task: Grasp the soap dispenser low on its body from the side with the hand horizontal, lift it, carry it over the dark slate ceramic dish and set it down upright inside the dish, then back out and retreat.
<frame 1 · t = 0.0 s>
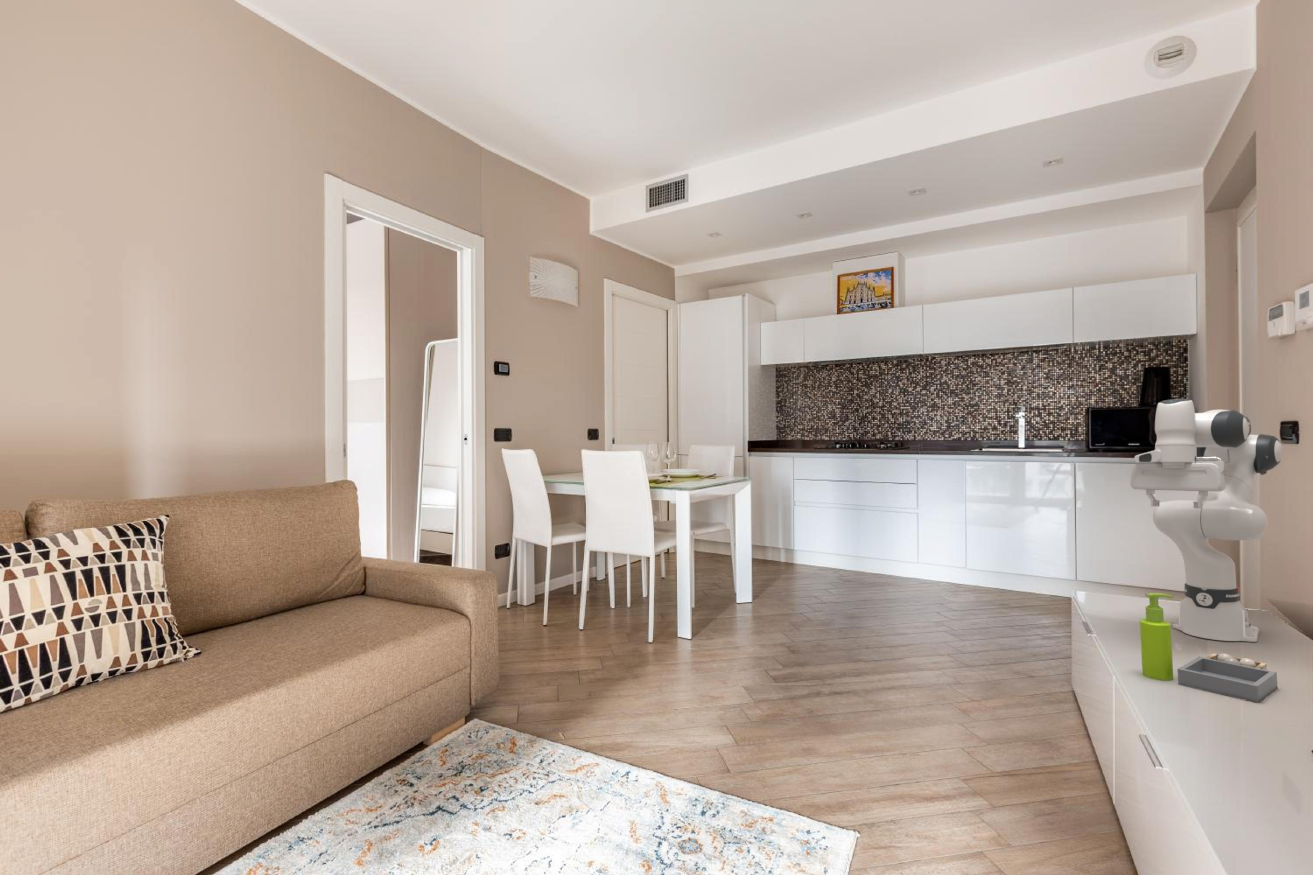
hand: (1176, 507, 172), 39 cm above the sideboard, tool pointing down, fingers open, 8 cm apart
pebble a: (1225, 659, 157), point 2 cm above the sideboard, touching parts tray
dish: (1227, 685, 146), on the sideboard
pebble c: (1247, 664, 154), point 2 cm above the sideboard, touching parts tray
pebble b: (1232, 663, 154), point 2 cm above the sideboard, touching parts tray
soap dispenser: (1160, 676, 154), on the sideboard
parts tray: (1234, 671, 155), on the sideboard
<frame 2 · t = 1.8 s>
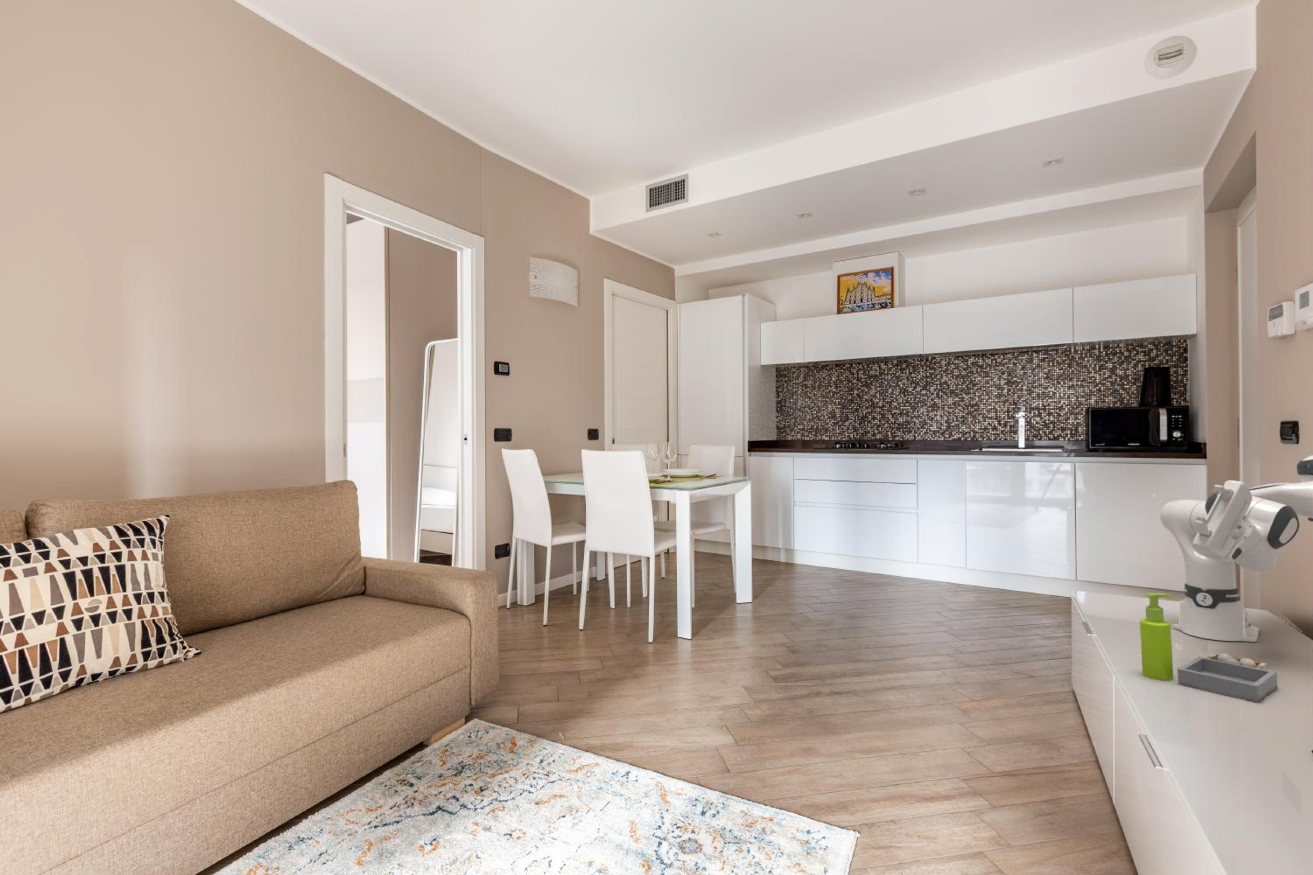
hand: (1208, 503, 155), 41 cm above the sideboard, tool pointing upward, fingers open, 8 cm apart
nothing on the sideboard moved.
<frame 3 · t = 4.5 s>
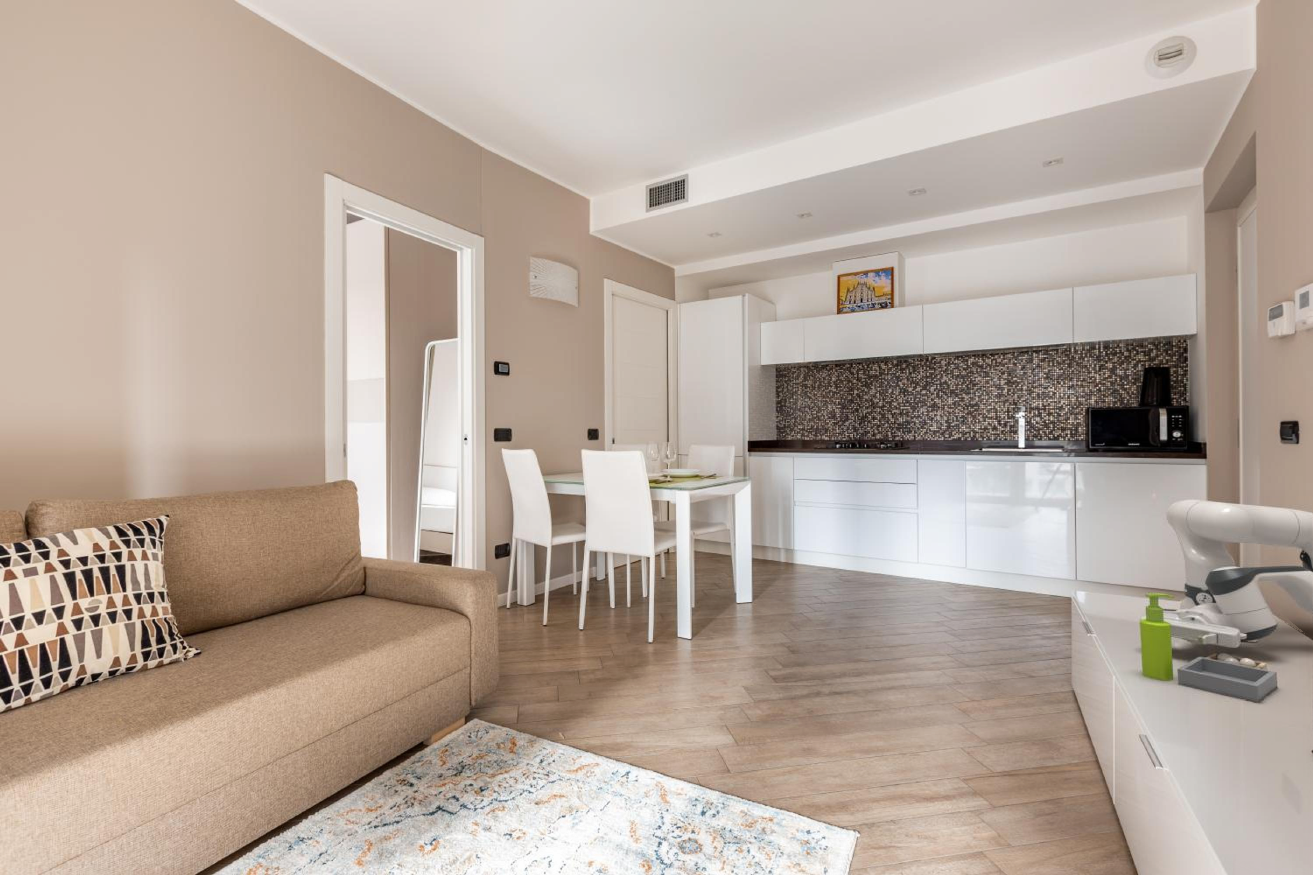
hand: (1177, 636, 160), 7 cm above the sideboard, tool horizontal, fingers open, 8 cm apart
nothing on the sideboard moved.
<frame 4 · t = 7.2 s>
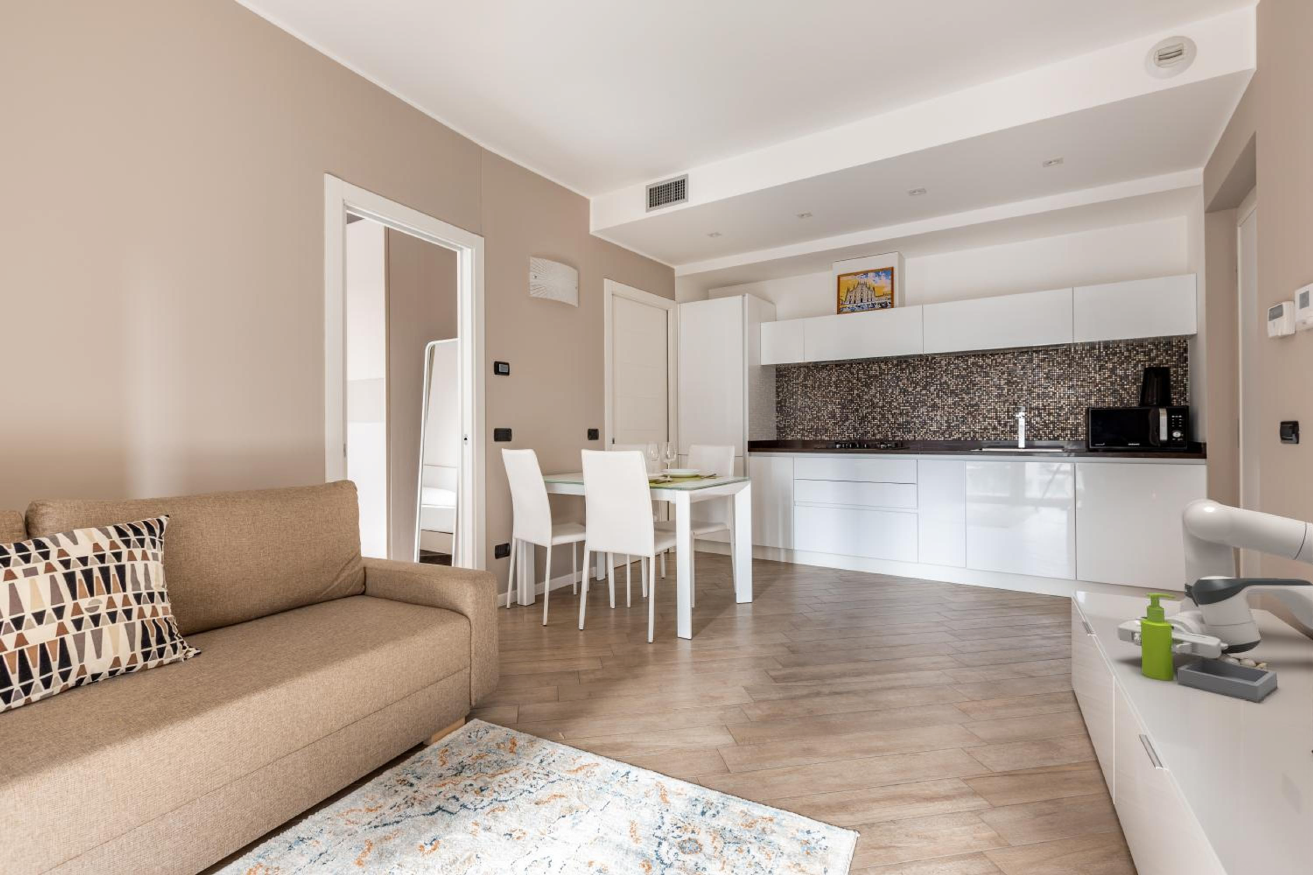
hand: (1155, 645, 153), 8 cm above the sideboard, tool horizontal, fingers closed on soap dispenser, 6 cm apart
soap dispenser: (1160, 676, 154), on the sideboard, touching gripper
everything else where it was.
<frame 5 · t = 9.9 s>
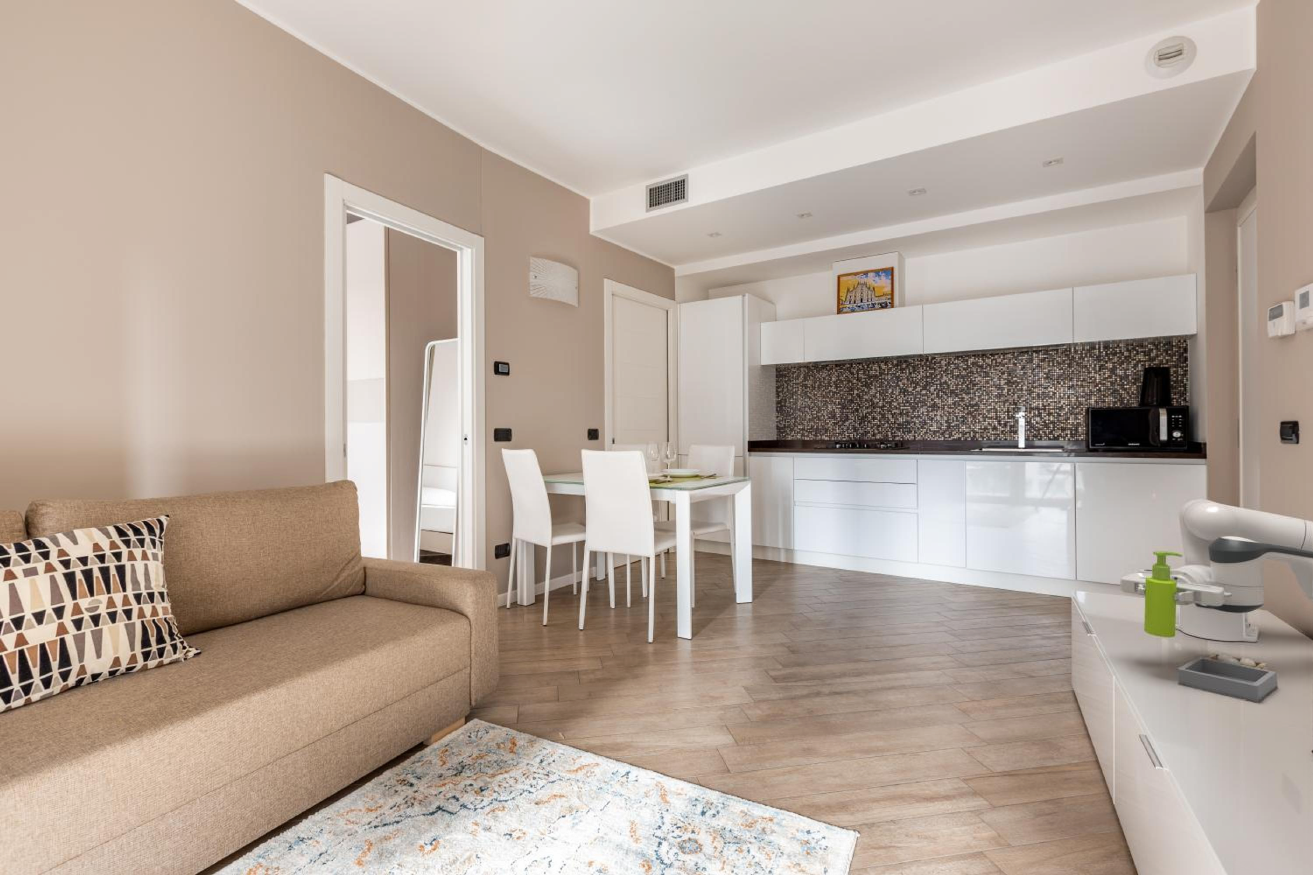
hand: (1158, 594, 153), 20 cm above the sideboard, tool horizontal, fingers closed on soap dispenser, 6 cm apart
soap dispenser: (1161, 633, 153), point 10 cm above the sideboard, touching gripper
everything else where it was.
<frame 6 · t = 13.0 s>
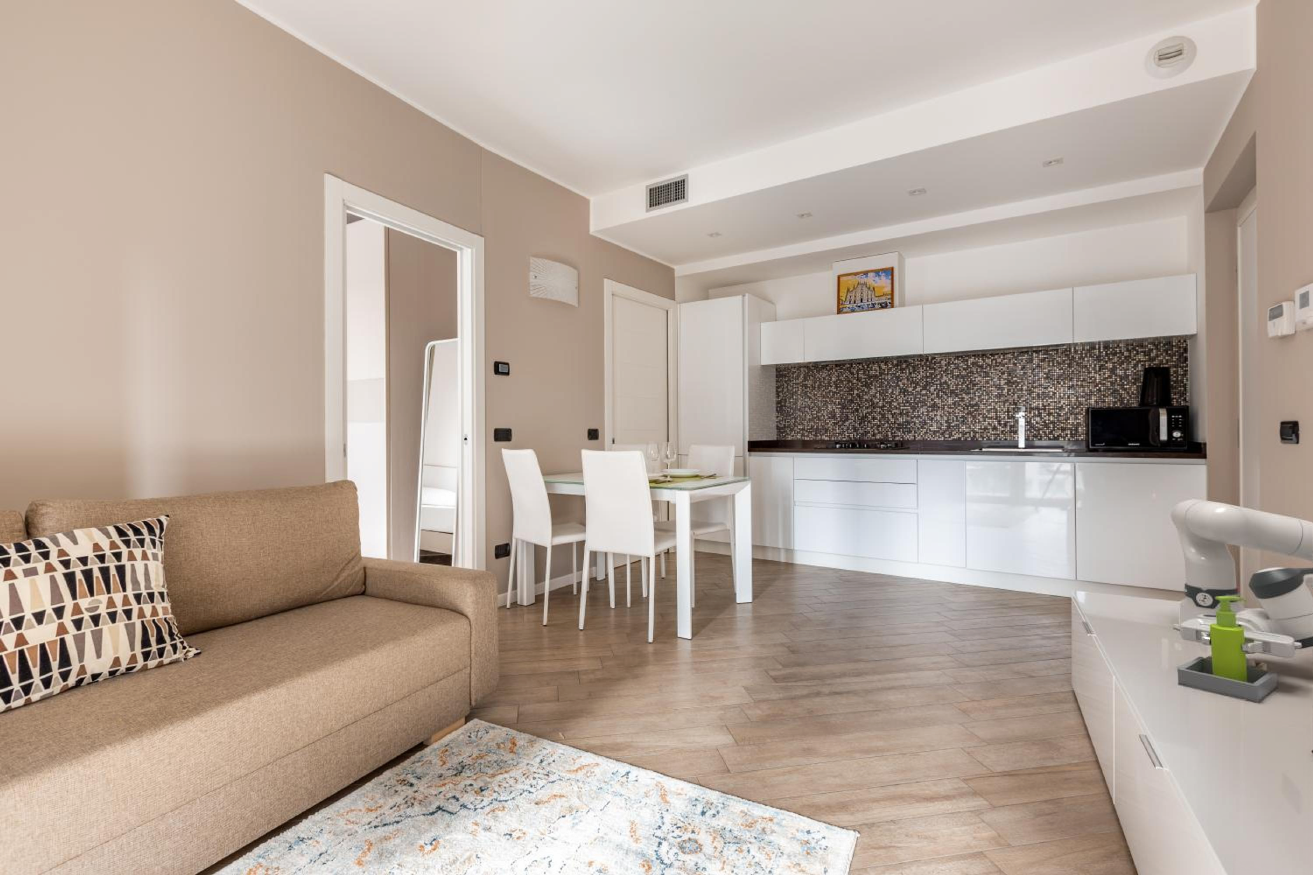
hand: (1225, 644, 146), 10 cm above the sideboard, tool horizontal, fingers closed on soap dispenser, 6 cm apart
soap dispenser: (1232, 684, 146), resting on dish, touching gripper
everything else where it was.
when the fingers open (10 cm above the sideboard, at t = 13.2 s): soap dispenser stays where it is, resting on dish.
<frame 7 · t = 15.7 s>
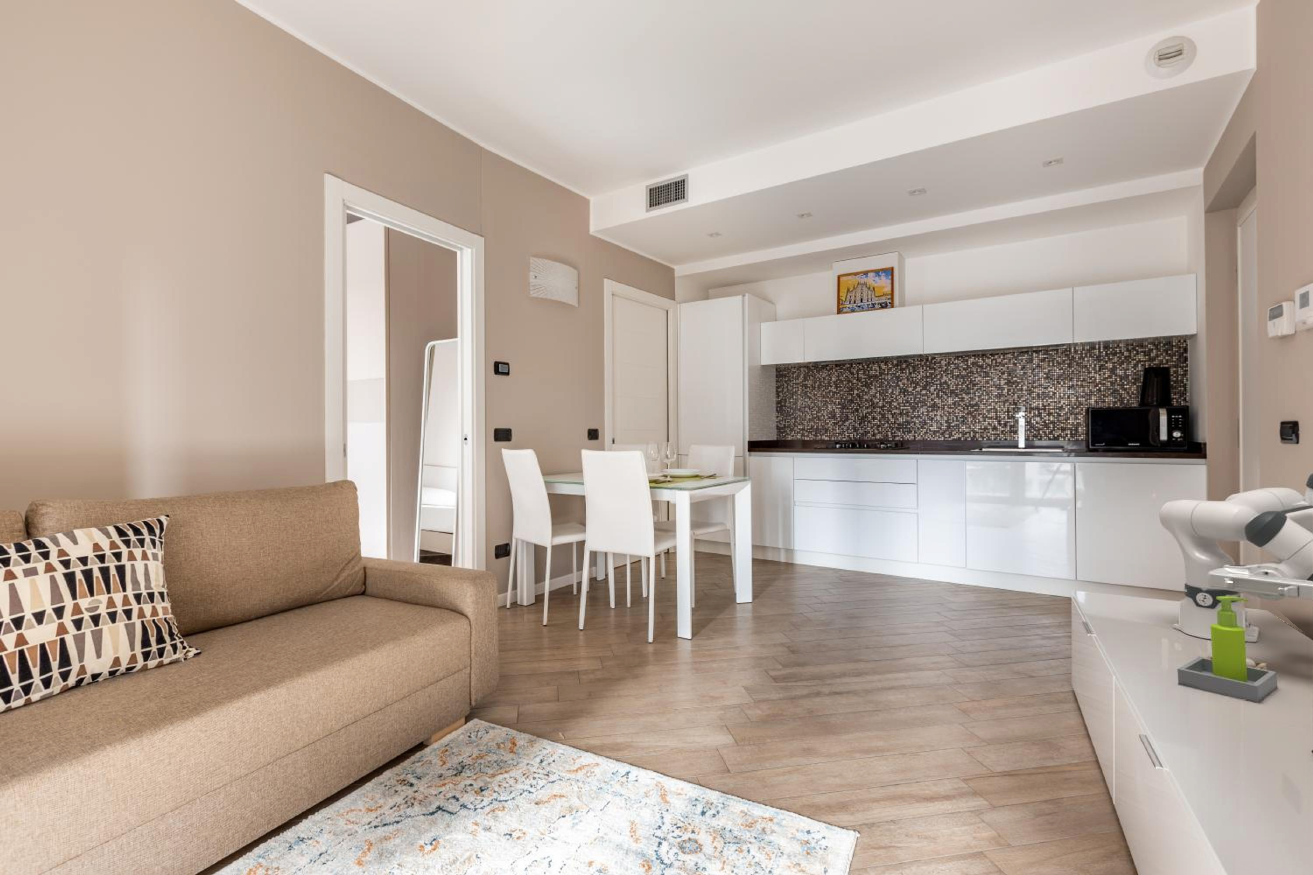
hand: (1255, 588, 150), 22 cm above the sideboard, tool horizontal, fingers open, 8 cm apart
soap dispenser: (1232, 684, 146), resting on dish
everything else where it was.
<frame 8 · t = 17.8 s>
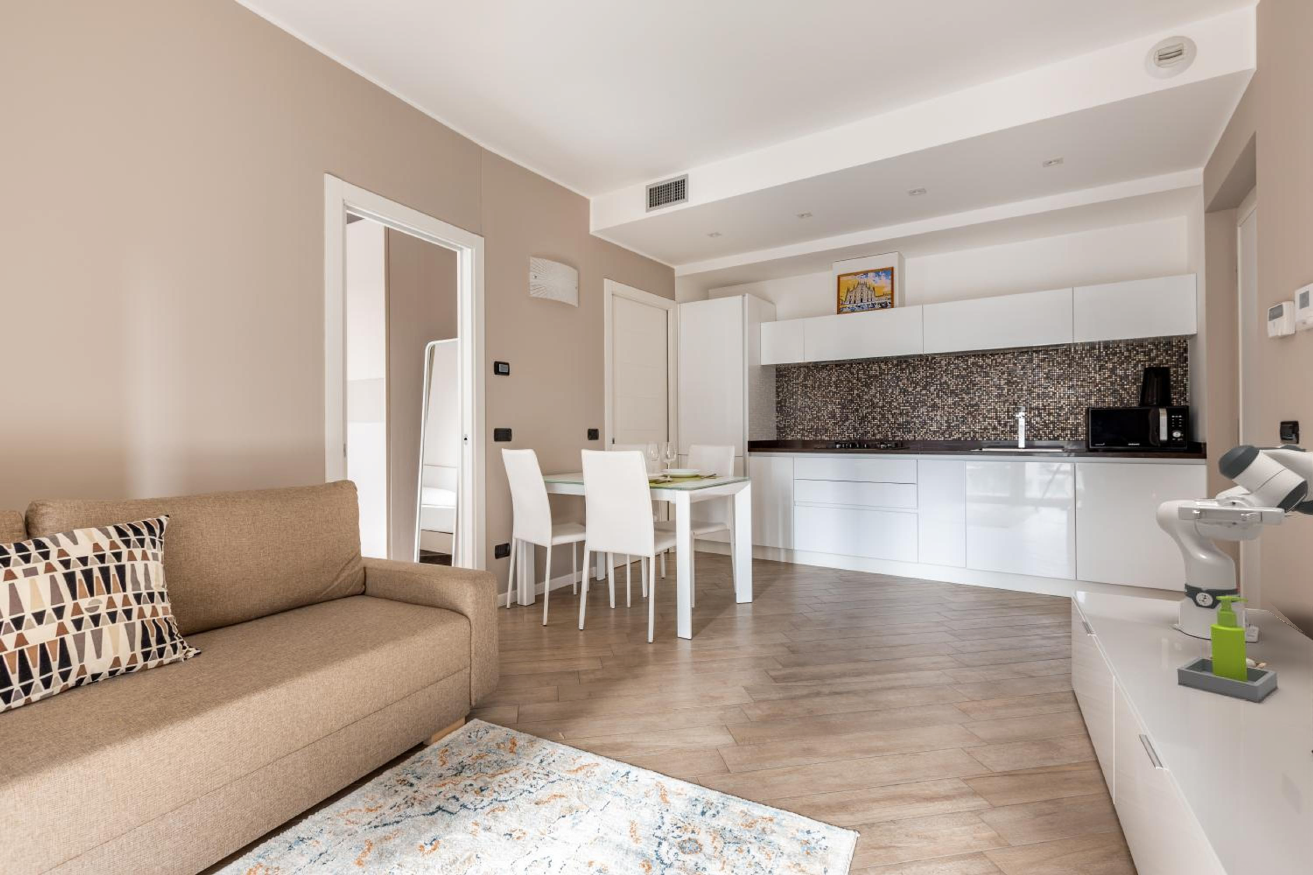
hand: (1219, 516, 156), 38 cm above the sideboard, tool horizontal, fingers open, 8 cm apart
nothing on the sideboard moved.
at the end: soap dispenser 1.1 cm from the dish (horizontally); soap dispenser tilted 0°; soap dispenser resting on dish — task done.
